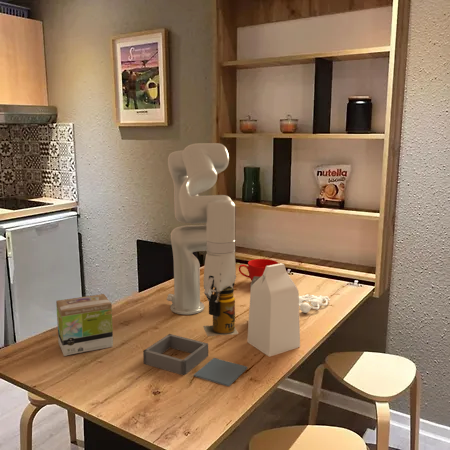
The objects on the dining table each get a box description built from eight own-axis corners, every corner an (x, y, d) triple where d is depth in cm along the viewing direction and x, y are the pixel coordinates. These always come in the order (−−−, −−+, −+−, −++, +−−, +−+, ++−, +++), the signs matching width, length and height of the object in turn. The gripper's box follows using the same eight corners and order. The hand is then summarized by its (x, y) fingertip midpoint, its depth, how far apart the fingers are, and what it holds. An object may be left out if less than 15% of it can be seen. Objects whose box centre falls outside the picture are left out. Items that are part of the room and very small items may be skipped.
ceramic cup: (240, 279, 214) (240, 257, 212) (278, 281, 212) (279, 259, 210) (236, 289, 202) (237, 266, 199) (277, 291, 199) (278, 268, 197)
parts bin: (143, 363, 139) (143, 350, 139) (169, 345, 150) (169, 333, 150) (184, 375, 133) (183, 362, 132) (208, 355, 144) (208, 343, 143)
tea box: (63, 357, 143) (60, 310, 140) (58, 344, 152) (55, 299, 149) (114, 347, 150) (111, 302, 147) (106, 334, 158) (103, 292, 155)
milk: (269, 356, 144) (271, 273, 138) (247, 342, 153) (248, 263, 148) (300, 347, 150) (303, 266, 144) (277, 333, 159) (279, 257, 154)
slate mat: (193, 376, 132) (193, 374, 132) (213, 359, 142) (213, 357, 142) (229, 386, 127) (229, 384, 127) (247, 368, 137) (247, 366, 137)
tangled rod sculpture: (309, 297, 197) (308, 287, 196) (339, 303, 186) (339, 293, 186) (277, 308, 184) (277, 297, 183) (308, 315, 173) (308, 304, 173)
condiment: (238, 334, 128) (238, 290, 127) (207, 336, 127) (207, 292, 125) (232, 324, 135) (232, 283, 134) (203, 327, 134) (202, 285, 132)
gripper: (224, 238, 136) (224, 298, 140) (191, 252, 121) (192, 319, 125) (248, 241, 133) (247, 303, 136) (217, 256, 118) (217, 325, 122)
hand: (221, 310), depth 131 cm, fingers closed on condiment, 6 cm apart
